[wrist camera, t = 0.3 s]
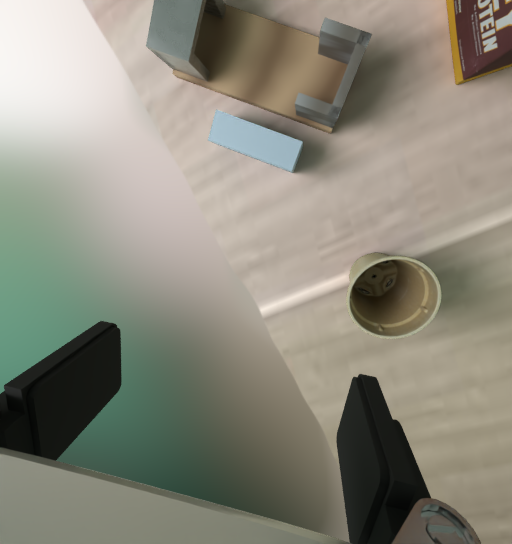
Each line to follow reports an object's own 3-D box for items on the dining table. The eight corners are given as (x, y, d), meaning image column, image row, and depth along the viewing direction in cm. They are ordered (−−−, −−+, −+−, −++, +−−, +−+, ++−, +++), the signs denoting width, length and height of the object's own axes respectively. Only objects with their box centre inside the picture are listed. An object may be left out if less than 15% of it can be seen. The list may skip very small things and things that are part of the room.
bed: (176, 77, 35) (151, 55, 29) (193, -2, 32) (169, -43, 26) (330, 133, 34) (335, 123, 28) (360, 57, 31) (373, 28, 25)
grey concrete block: (172, 68, 33) (146, 46, 28) (187, -6, 31) (162, -47, 25) (207, 81, 33) (188, 61, 27) (226, 8, 31) (209, -31, 25)
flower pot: (417, 241, 36) (450, 257, 28) (406, 309, 39) (433, 342, 31) (340, 239, 37) (350, 255, 29) (335, 305, 40) (343, 336, 32)
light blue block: (220, 145, 36) (208, 140, 32) (227, 119, 35) (216, 109, 31) (293, 173, 36) (291, 171, 31) (302, 147, 35) (302, 141, 30)
